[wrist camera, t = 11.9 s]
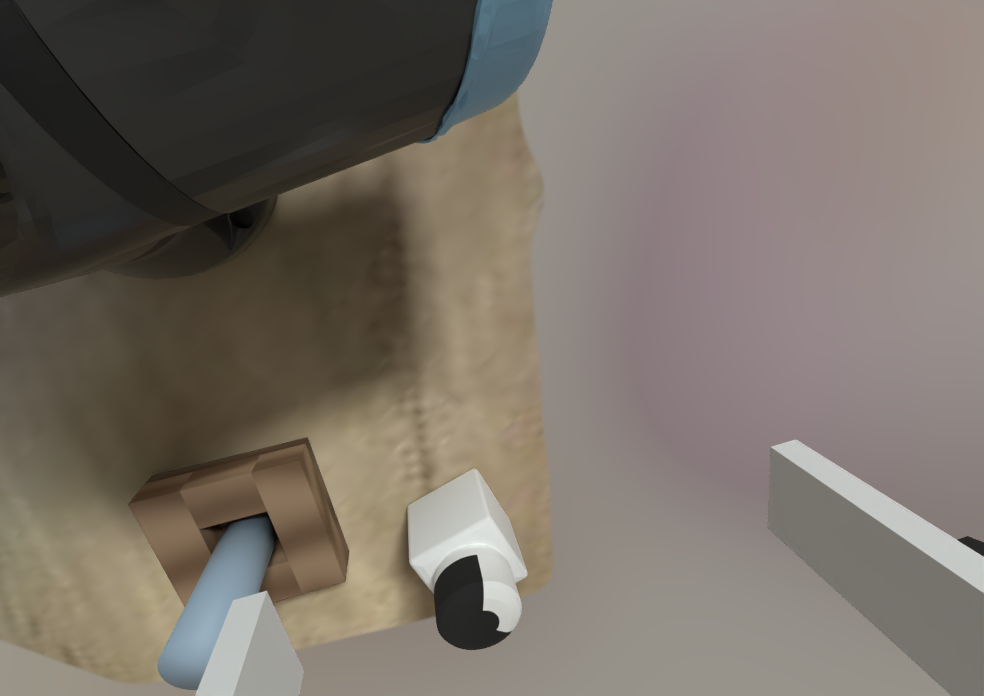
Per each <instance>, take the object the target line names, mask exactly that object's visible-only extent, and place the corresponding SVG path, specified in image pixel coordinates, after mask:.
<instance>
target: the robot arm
mask: <svg viewBox="0 0 984 696" xmlns="http://www.w3.org/2000/svg"><path fill="white" fill-rule="evenodd" d="M552 1H553V0H0V297H3V296H6V295H10V294H14V293H18V292H21V291H25V290H29V289H33V288H36V287H40V286H44V285H47V284H51V283H55V282H59V281H62V280H66V279H70V278H74V277H77V276H81V275H85V274H89V273H92V272H96V271H100V270H107V271H111V272H115V273H119V274H123V275H127V276H133V277H141V278H175V277H183V276H188V275H193V274H197V273H200V272H203V271H206V270H208V269H211V268H213V267H215V266H218V265H220V264H222V263H224V262H226V261H228V260H230V259H232V258H234V257H235V256H237V255H238V254H239V253H241V252H242V251H243V250H245V249H246V248H247V247H248V246H249V245H250V244H251V243H252V242H253V241H254V240H255V239H256V238H257V236H258V235H259V234H260V232H261V231H262V229H263V228H264V226H265V225H266V223H267V221H268V219H269V217H270V215H271V212H272V210H273V207H274V204H275V200H276V195H279V194H282V193H284V192H287V191H289V190H292V189H295V188H297V187H300V186H303V185H305V184H308V183H310V182H313V181H316V180H318V179H321V178H324V177H326V176H329V175H332V174H334V173H337V172H339V171H342V170H345V169H347V168H350V167H353V166H355V165H358V164H360V163H363V162H366V161H368V160H371V159H374V158H376V157H379V156H381V155H384V154H387V153H389V152H392V151H395V150H397V149H400V148H402V147H405V146H408V145H410V144H413V143H427V142H431V141H434V140H436V139H437V137H438V136H441V135H444V134H445V133H446V132H447V131H448V130H449V129H450V128H451V127H452V126H454V125H456V124H458V123H460V122H463V121H465V120H467V119H469V118H472V117H474V116H476V115H478V114H481V113H483V112H485V111H487V110H490V109H492V108H494V107H496V106H498V105H500V104H501V103H503V101H505V100H506V99H507V98H508V97H509V96H511V95H512V94H513V93H514V92H515V91H516V90H517V89H518V87H519V86H520V85H521V84H522V83H523V81H524V80H525V78H526V77H527V75H528V73H529V71H530V69H531V68H532V66H533V64H534V62H535V60H536V57H537V55H538V52H539V50H540V47H541V44H542V41H543V38H544V35H545V31H546V28H547V25H548V20H549V16H550V11H551V7H552ZM768 529H769V530H770V531H771V532H772V533H773V534H774V535H775V536H777V537H778V538H779V539H780V540H781V541H782V542H783V543H784V544H785V545H786V546H788V547H789V548H790V549H791V550H792V551H793V552H794V553H795V554H796V555H797V556H799V557H800V558H801V559H802V560H803V561H804V562H805V563H806V564H807V565H808V566H810V567H811V568H812V569H813V570H814V571H815V572H816V573H817V574H818V575H819V576H821V577H822V578H823V579H824V580H825V581H826V582H827V583H828V584H829V585H831V586H832V587H833V588H834V589H835V590H836V591H837V592H838V593H839V594H840V595H841V596H842V597H844V598H845V599H846V600H847V601H848V602H849V603H850V604H851V605H852V606H853V607H855V608H856V609H857V610H858V611H859V612H860V613H861V614H862V615H863V616H864V617H866V618H867V619H868V620H869V621H870V622H871V623H872V624H873V625H874V626H875V627H877V628H878V629H879V630H880V631H881V632H882V633H883V634H884V635H885V636H886V637H888V638H889V639H890V640H891V641H892V642H893V643H894V644H895V645H896V646H897V647H899V648H900V649H901V650H902V651H903V652H904V653H905V654H906V655H907V656H908V657H910V658H911V659H912V660H913V661H914V662H915V663H916V664H917V665H918V666H920V667H921V668H922V669H923V670H924V671H925V672H926V673H927V674H928V675H929V676H930V677H931V678H933V679H934V680H935V681H936V682H937V683H938V684H939V685H940V686H941V687H942V688H944V689H945V690H946V691H947V692H948V693H949V694H950V695H951V696H984V542H981V541H979V540H976V539H973V538H971V537H968V536H967V537H964V538H961V539H958V540H956V539H954V538H953V537H951V536H950V535H948V534H946V533H945V532H943V531H942V530H940V529H938V528H937V527H935V526H934V525H932V524H930V523H929V522H927V521H926V520H924V519H922V518H921V517H919V516H918V515H916V514H914V513H913V512H911V511H910V510H907V509H906V508H905V507H903V506H902V505H900V504H898V503H897V502H895V501H893V500H892V499H890V498H889V497H887V496H885V495H884V494H882V493H881V492H879V491H877V490H875V489H874V488H873V487H871V486H869V485H868V484H866V483H865V482H863V481H861V480H860V479H858V478H857V477H855V476H853V475H852V474H850V473H849V472H847V471H845V470H844V469H842V468H841V467H839V466H837V465H836V464H834V463H833V462H831V461H829V460H828V459H826V458H824V457H823V456H821V455H820V454H818V453H816V452H815V451H813V450H812V449H810V448H809V447H807V446H805V445H804V444H802V443H801V442H799V441H797V440H793V441H789V442H786V443H782V444H779V445H775V446H772V447H770V474H769V501H768ZM303 674H304V670H303V668H302V666H301V664H300V661H299V659H298V657H297V655H296V653H295V651H294V648H293V646H292V644H291V642H290V640H289V638H288V635H287V633H286V631H285V629H284V627H283V625H282V622H281V620H280V618H279V616H278V614H277V612H276V609H275V607H274V605H273V603H272V601H271V599H270V596H269V594H268V592H267V591H264V592H260V593H257V594H253V595H250V596H246V597H243V598H239V599H236V600H233V601H232V604H231V606H230V609H229V611H228V614H227V616H226V619H225V622H224V624H223V627H222V629H221V632H220V634H219V637H218V639H217V642H216V644H215V647H214V649H213V652H212V654H211V657H210V659H209V662H208V664H207V667H206V669H205V672H204V675H203V677H202V680H201V682H200V685H199V687H198V690H197V692H196V695H195V696H300V690H301V684H302V680H303Z"/></svg>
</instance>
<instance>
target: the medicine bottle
mask: <svg viewBox="0 0 984 696" xmlns="http://www.w3.org/2000/svg"><path fill="white" fill-rule="evenodd" d="M407 517H408V545H409V563H410V565H411V566H412V568H413V569H414V570H415V572H416V573H417V574H418V575H419V577H420V578H421V579H422V580H423V582H424V583H425V584H426V585H427V587H428V588H429V589H430V590H431V592H432V593H433V594H434V601H435V612H436V623H437V628H438V631H439V633H440V635H441V636H442V637H443V638H444V640H446V641H447V642H448V643H450V644H452V645H454V646H455V647H458V648H461V649H466V650H477V649H483V648H487V647H490V646H492V645H495V644H497V643H499V642H500V641H502V640H503V639H505V638H506V637H507V636H508V635H509V634H510V633H511V632H512V631H513V629H514V628H515V626H516V624H517V623H518V621H519V618H520V616H521V611H522V605H521V600H520V597H519V594H518V590H517V587H516V584H515V583H517V582H518V581H520V580H522V579H524V578H525V577H526V576H527V570H526V567H525V564H524V561H523V558H522V555H521V552H520V549H519V546H518V543H517V541H516V538H515V535H514V532H513V529H512V526H511V523H510V520H509V518H508V517H507V515H506V514H505V512H504V511H503V509H502V507H501V506H500V504H499V503H498V501H497V500H496V498H495V497H494V495H493V493H492V492H491V490H490V489H489V487H488V486H487V484H486V482H485V481H484V479H483V478H482V476H481V475H480V473H479V472H478V470H477V469H471V470H470V471H468V472H466V473H464V474H463V475H461V476H459V477H457V478H455V479H454V480H452V481H450V482H448V483H447V484H445V485H443V486H441V487H439V488H438V489H436V490H434V491H432V492H431V493H429V494H427V495H425V496H423V497H422V498H420V499H418V500H416V501H415V502H413V503H411V504H409V505H408V508H407Z"/></svg>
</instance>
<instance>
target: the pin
mask: <svg viewBox="0 0 984 696" xmlns="http://www.w3.org/2000/svg"><path fill="white" fill-rule="evenodd" d="M277 537H278V535H277V533H276V531H275V528H274V526H273V524H272V521H271V519H270V517H269V514H268V512H267V511H266V512H262V513H259V514H255V515H251V516H247V517H244V518H240V519H236V520H232V521H229V522H228V523H227V525H226V527H225V529H224V531H223V533H222V535H221V537H220V539H219V541H218V543H217V545H216V547H215V549H214V551H213V553H212V555H211V557H210V559H209V561H208V563H207V565H206V566H205V568H204V570H203V572H202V574H201V576H200V578H199V580H198V582H197V584H196V586H195V588H194V590H193V592H192V594H191V596H190V598H189V600H188V602H187V604H186V606H185V608H184V610H183V612H182V614H181V616H180V618H179V620H178V622H177V624H176V626H175V628H174V630H173V632H172V634H171V636H170V638H169V640H168V642H167V644H166V646H165V648H164V650H163V652H162V654H161V656H160V658H159V660H158V671H159V673H160V675H161V677H162V678H163V679H164V680H165V681H166V682H168V683H169V684H171V685H173V686H175V687H178V688H182V689H188V690H198V687H199V685H200V682H201V680H202V677H203V675H204V672H205V669H206V667H207V664H208V662H209V659H210V657H211V654H212V652H213V649H214V647H215V644H216V642H217V639H218V637H219V634H220V632H221V629H222V627H223V624H224V622H225V619H226V616H227V614H228V611H229V609H230V606H231V604H232V601H233V600H236V599H239V598H243V597H246V596H250V595H253V594H257V593H259V590H260V587H261V584H262V581H263V578H264V575H265V572H266V570H267V567H268V564H269V561H270V558H271V555H272V552H273V549H274V546H275V543H276V540H277Z"/></svg>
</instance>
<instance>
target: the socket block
mask: <svg viewBox="0 0 984 696" xmlns="http://www.w3.org/2000/svg"><path fill="white" fill-rule="evenodd" d="M128 505H129V507H130V509H131V511H132V513H133V514H134V516H135V518H136V520H137V522H138V523H139V525H140V527H141V529H142V531H143V533H144V534H145V536H146V538H147V540H148V542H149V543H150V545H151V547H152V549H153V551H154V552H155V554H156V556H157V558H158V560H159V561H160V563H161V565H162V567H163V569H164V571H165V572H166V574H167V576H168V578H169V580H170V581H171V583H172V585H173V587H174V589H175V590H176V592H177V594H178V596H179V598H180V599H181V601H182V603H183V605H184V607H185V606H186V604H187V602H188V600H189V598H190V596H191V594H192V592H193V590H194V588H195V586H196V584H197V582H198V580H199V578H200V576H201V574H202V572H203V570H204V568H205V566H206V565H207V563H208V561H209V559H210V557H211V555H212V553H213V551H214V549H215V547H216V545H217V543H218V541H219V539H220V537H221V535H222V533H223V531H224V529H225V527H226V525H227V523H228V522H229V521H232V520H236V519H240V518H244V517H247V516H251V515H255V514H259V513H262V512H266V511H267V512H268V514H269V517H270V519H271V521H272V524H273V526H274V528H275V531H276V533H277V535H278V537H277V540H276V543H275V546H274V549H273V552H272V555H271V558H270V561H269V564H268V567H267V570H266V572H265V575H264V578H263V581H262V584H261V587H260V590H259V593H260V592H264V591H267V592H268V594H269V596H270V599H271V601H272V603H273V602H277V601H280V600H284V599H287V598H291V597H294V596H297V595H301V594H304V593H308V592H311V591H315V590H318V589H322V588H325V587H329V586H332V585H336V584H339V583H342V582H345V580H346V573H347V565H348V557H349V549H348V547H347V544H346V541H345V539H344V536H343V533H342V530H341V528H340V525H339V522H338V519H337V517H336V514H335V511H334V508H333V506H332V503H331V500H330V497H329V495H328V492H327V489H326V486H325V484H324V481H323V478H322V476H321V473H320V470H319V467H318V465H317V462H316V459H315V456H314V454H313V451H312V448H311V445H310V443H309V440H308V437H307V438H303V439H299V440H295V441H291V442H287V443H283V444H279V445H275V446H271V447H267V448H263V449H259V450H255V451H251V452H247V453H243V454H239V455H235V456H231V457H227V458H223V459H219V460H215V461H211V462H207V463H203V464H199V465H195V466H191V467H187V468H183V469H179V470H175V471H171V472H167V473H163V474H159V475H155V476H152V477H151V478H150V479H149V480H148V481H147V482H146V484H145V485H144V486H143V487H142V488H141V490H140V491H139V492H138V493H137V494H136V495H135V497H134V498H133V499H132V500H131V501H130V502H129V504H128Z"/></svg>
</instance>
